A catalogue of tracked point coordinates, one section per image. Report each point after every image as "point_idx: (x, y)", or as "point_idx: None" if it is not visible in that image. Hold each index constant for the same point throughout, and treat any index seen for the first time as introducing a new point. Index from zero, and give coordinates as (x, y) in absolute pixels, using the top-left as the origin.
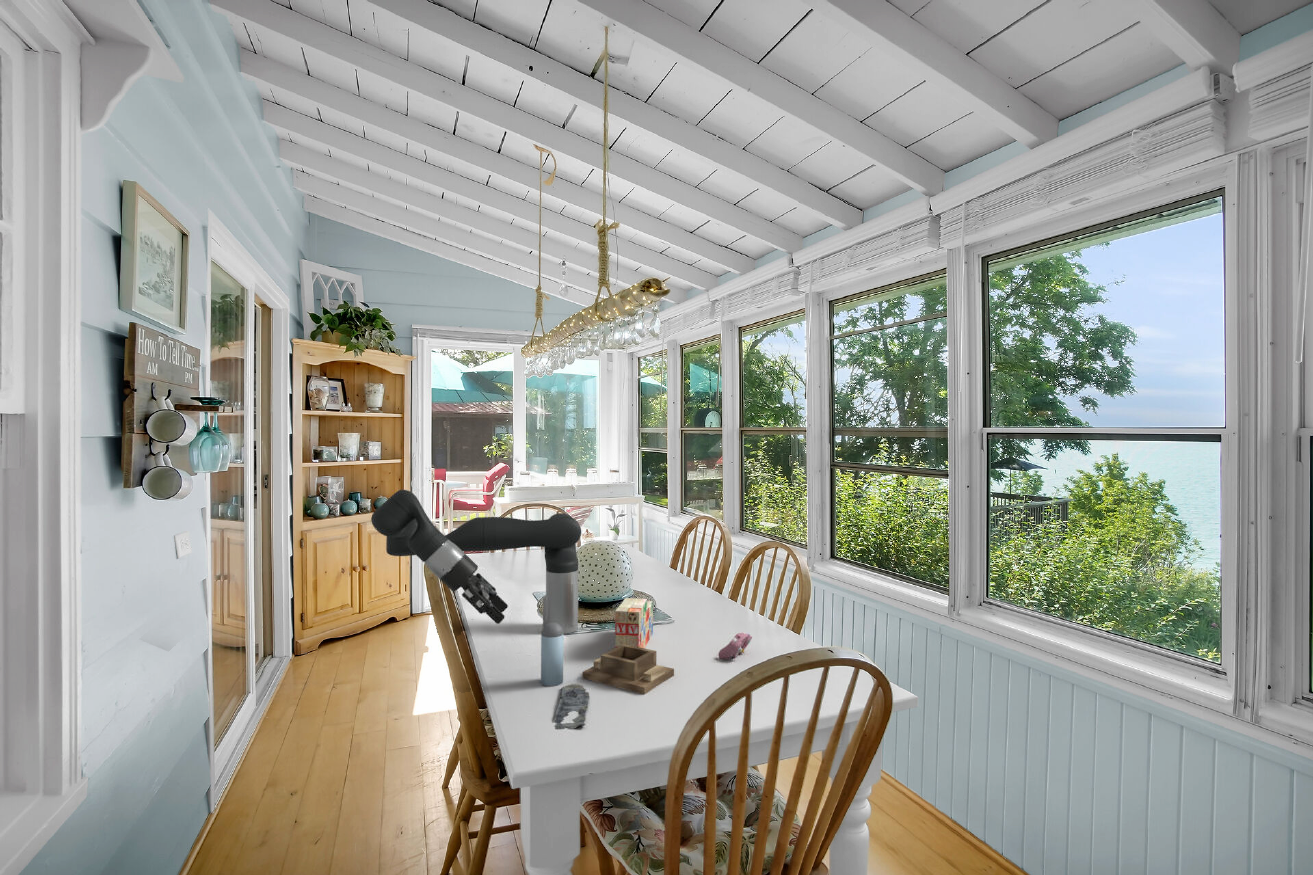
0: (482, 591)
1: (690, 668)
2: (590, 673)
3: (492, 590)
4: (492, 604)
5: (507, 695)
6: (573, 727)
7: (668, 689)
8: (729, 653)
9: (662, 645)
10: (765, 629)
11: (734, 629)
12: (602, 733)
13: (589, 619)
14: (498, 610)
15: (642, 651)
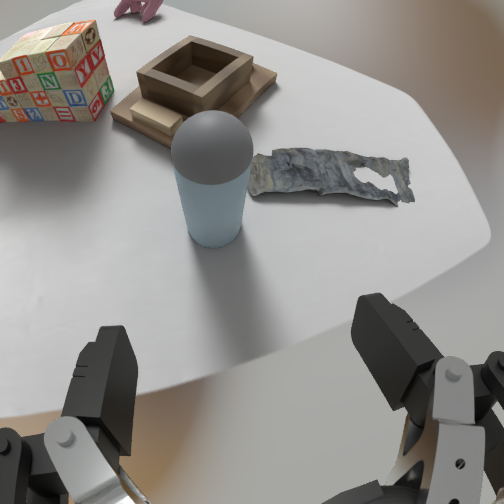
0: (472, 484)
1: (174, 39)
2: None
3: (85, 472)
4: (442, 363)
5: (296, 315)
6: (406, 175)
7: (254, 58)
8: (156, 9)
9: None
10: (71, 11)
11: None
12: (407, 143)
13: None
14: (399, 326)
15: (180, 50)
